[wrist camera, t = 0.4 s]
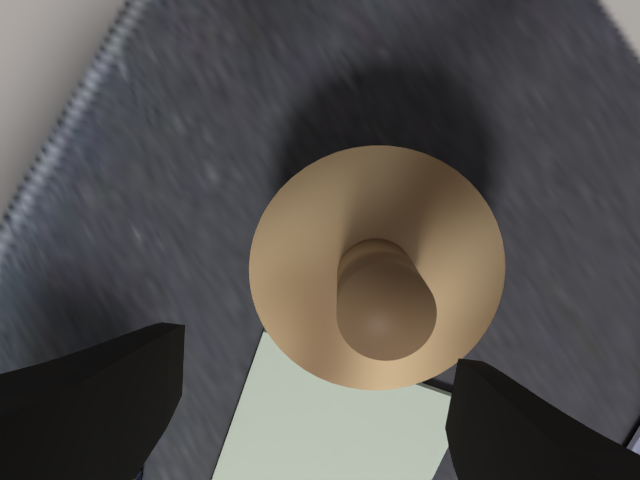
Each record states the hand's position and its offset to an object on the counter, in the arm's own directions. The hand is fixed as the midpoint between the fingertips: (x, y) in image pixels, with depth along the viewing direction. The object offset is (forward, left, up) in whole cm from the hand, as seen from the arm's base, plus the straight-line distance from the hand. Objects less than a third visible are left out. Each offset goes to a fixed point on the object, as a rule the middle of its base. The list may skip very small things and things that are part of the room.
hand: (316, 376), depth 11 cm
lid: (-2, -2, -7) cm, 7 cm away
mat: (-4, +9, -10) cm, 14 cm away
